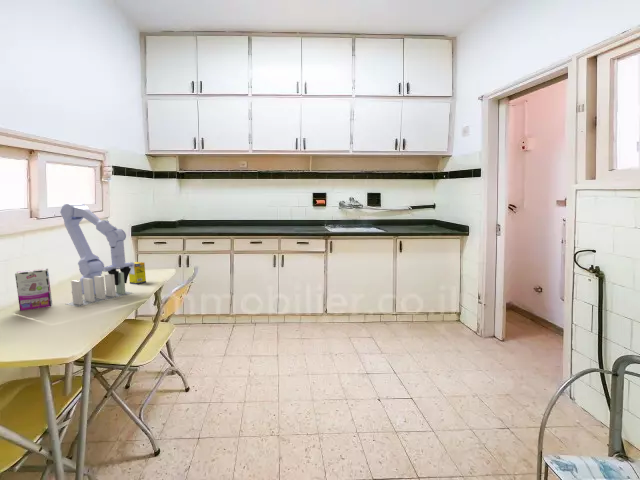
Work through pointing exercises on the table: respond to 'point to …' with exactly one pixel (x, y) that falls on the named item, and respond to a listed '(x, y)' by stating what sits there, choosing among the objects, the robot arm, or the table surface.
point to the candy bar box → (33, 289)
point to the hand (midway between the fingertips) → (120, 284)
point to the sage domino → (120, 283)
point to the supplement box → (137, 273)
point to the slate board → (98, 299)
